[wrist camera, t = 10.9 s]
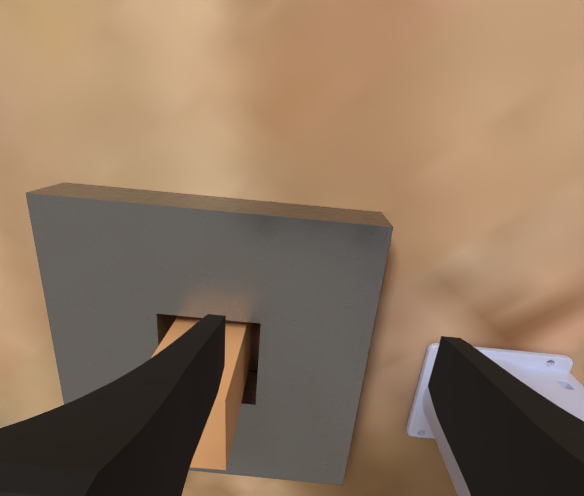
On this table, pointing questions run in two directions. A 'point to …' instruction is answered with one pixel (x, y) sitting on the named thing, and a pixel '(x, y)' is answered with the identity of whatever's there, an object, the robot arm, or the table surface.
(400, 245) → the table surface
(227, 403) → the tan square post
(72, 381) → the collar
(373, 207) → the table surface
